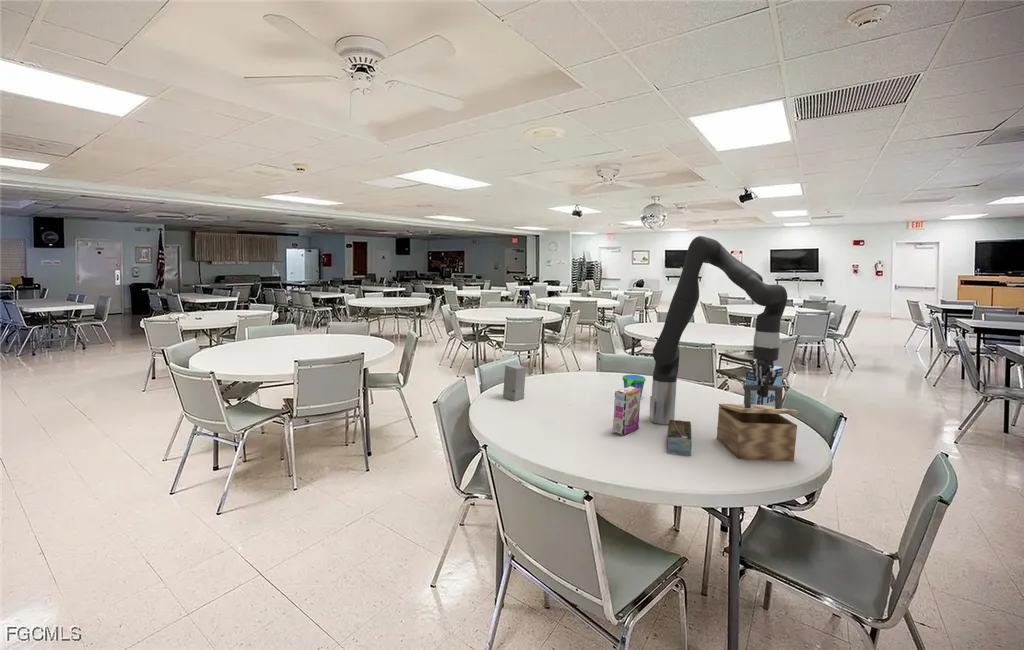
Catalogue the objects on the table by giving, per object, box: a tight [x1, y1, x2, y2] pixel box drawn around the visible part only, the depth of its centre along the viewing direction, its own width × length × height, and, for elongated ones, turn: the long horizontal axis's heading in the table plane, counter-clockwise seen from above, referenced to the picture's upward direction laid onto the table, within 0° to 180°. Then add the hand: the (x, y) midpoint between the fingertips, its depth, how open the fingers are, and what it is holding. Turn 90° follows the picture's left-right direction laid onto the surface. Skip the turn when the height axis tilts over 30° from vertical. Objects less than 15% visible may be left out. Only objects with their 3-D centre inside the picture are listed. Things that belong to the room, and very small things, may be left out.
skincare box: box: [502, 363, 527, 402], centre depth 218 cm, size 8×7×16 cm
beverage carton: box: [666, 419, 692, 457], centre depth 163 cm, size 8×19×7 cm, turn 159°
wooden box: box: [716, 406, 798, 461], centre depth 160 cm, size 18×18×12 cm
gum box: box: [743, 365, 784, 406], centre depth 185 cm, size 20×5×23 cm, turn 123°
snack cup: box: [622, 374, 646, 399], centre depth 222 cm, size 16×10×10 cm
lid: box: [718, 384, 798, 415], centre depth 159 cm, size 18×18×9 cm
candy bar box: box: [612, 386, 642, 437], centre depth 175 cm, size 11×5×16 cm, turn 134°
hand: (762, 395), depth 155 cm, fingers closed on lid, 2 cm apart
